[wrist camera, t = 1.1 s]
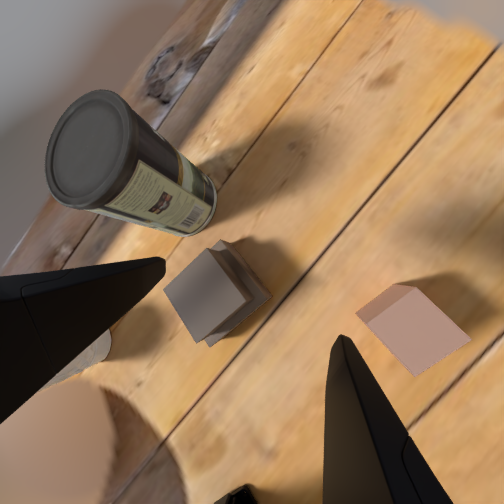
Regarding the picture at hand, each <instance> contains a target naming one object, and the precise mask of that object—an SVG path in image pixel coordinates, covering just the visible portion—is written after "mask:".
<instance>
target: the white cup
mask: <svg viewBox="0 0 504 504" xmlns="http://www.w3.org/2000/svg"><path fill="white" fill-rule="evenodd" d="M110 347H111V335H110V330H109V329H108V330H107V331H105V332H104V333H103V334H102V335H101V336H100V337H99V338H98V339H96V340H95V341H94V342H93V343H92V344H91V345H90V346H88V347H87V348H86V349H85V350H84V351H83V352H82V353H80V354H79V355H78V356H77V357H76V358H75V359H74V360H73V361H71V362H70V363H69V364H68V365H67V366H66V367H65V368H63V369H62V370H61V371H60V372H59V373H58V374H56V376H55V377H53V378H52V379H51V380H50V381H49V382H48V383H47V384H45V385H44V386H43V387H42V388H41V389H40V390H39V391H37V392H40V391H42V390H44V389H46V388H48V387H50V386H53V385H55V384H57V383H59V382H61V381H63V380H65V379H67V378H69V377H71V376H73V375H75V374H78V373H80V372H82V371H83V370H85V369H86V368H89V367H91V366H93V365H95V364H98V363H99V362H101V361H102V360H104V359H105V358H106V356H107V355H108V353H109V351H110ZM37 392H36V393H37Z"/></svg>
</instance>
